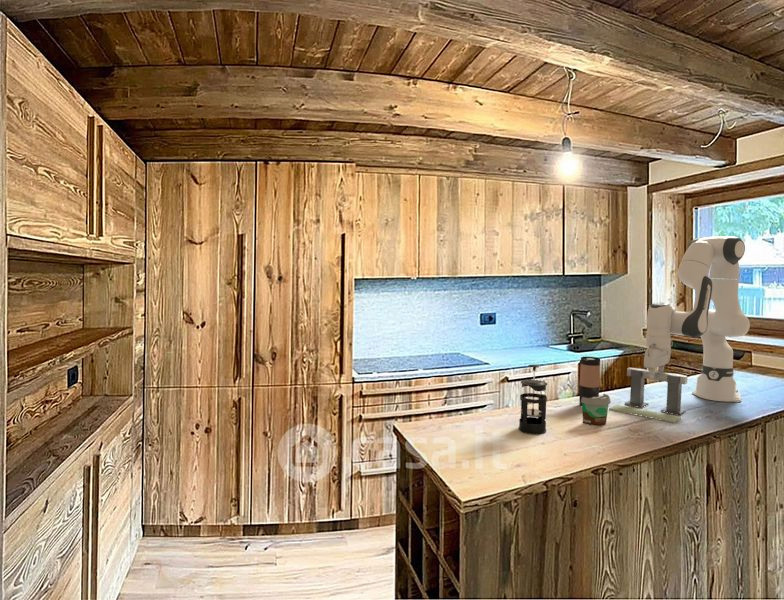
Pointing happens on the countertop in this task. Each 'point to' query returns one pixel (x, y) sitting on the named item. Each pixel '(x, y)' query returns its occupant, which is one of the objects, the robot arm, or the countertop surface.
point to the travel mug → (589, 377)
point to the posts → (672, 392)
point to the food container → (595, 410)
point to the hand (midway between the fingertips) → (656, 376)
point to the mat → (645, 413)
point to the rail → (658, 375)
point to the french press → (532, 423)
